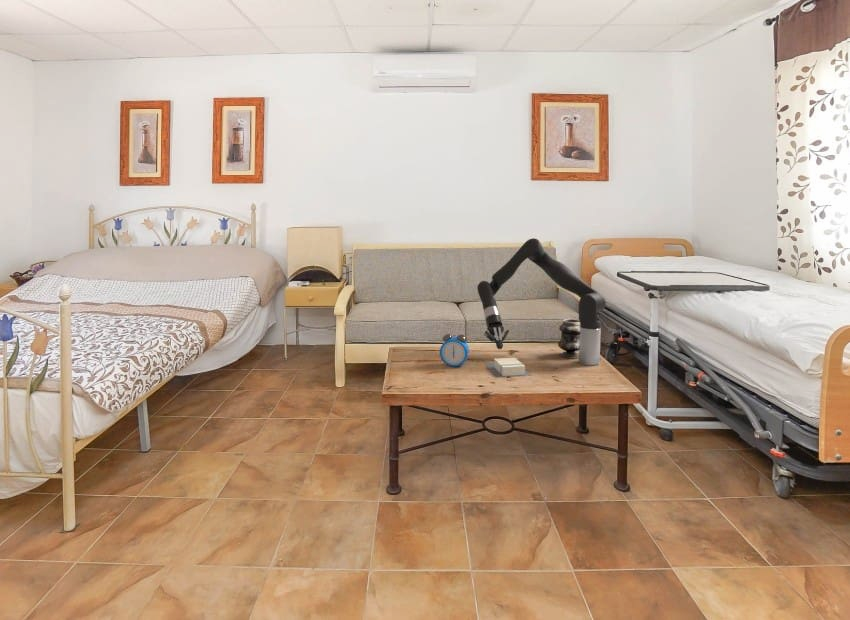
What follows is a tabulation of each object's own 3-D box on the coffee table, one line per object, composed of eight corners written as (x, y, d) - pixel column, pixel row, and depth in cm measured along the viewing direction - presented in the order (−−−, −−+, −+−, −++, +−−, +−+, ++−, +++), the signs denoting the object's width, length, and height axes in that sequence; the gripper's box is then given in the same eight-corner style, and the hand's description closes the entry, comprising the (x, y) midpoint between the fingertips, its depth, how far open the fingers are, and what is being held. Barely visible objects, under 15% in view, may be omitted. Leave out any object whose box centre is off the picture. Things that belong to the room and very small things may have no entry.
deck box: (494, 358, 242) (502, 367, 228) (515, 357, 243) (525, 365, 230) (493, 367, 243) (502, 376, 229) (515, 366, 244) (525, 375, 230)
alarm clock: (439, 366, 246) (439, 335, 243) (442, 362, 252) (441, 332, 249) (467, 368, 243) (467, 336, 240) (469, 364, 249) (469, 333, 246)
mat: (483, 364, 249) (483, 363, 249) (516, 362, 251) (516, 361, 251) (496, 378, 228) (496, 377, 228) (532, 376, 230) (532, 375, 230)
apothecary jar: (585, 359, 256) (587, 322, 253) (560, 359, 257) (562, 322, 253) (579, 352, 268) (580, 317, 265) (555, 352, 269) (556, 317, 265)
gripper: (502, 321, 267) (510, 351, 258) (478, 321, 263) (485, 352, 255) (507, 313, 260) (515, 344, 252) (482, 313, 257) (489, 345, 248)
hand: (500, 348), depth 253 cm, fingers closed
